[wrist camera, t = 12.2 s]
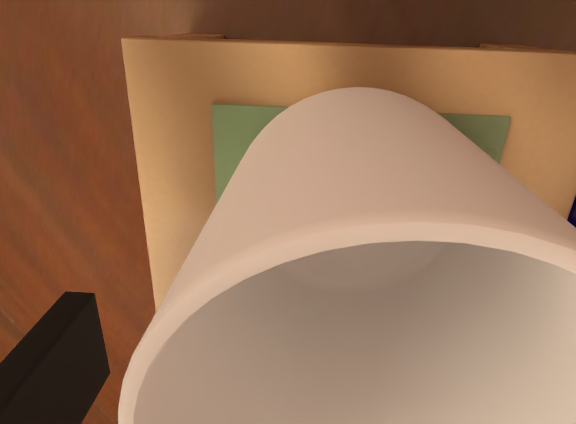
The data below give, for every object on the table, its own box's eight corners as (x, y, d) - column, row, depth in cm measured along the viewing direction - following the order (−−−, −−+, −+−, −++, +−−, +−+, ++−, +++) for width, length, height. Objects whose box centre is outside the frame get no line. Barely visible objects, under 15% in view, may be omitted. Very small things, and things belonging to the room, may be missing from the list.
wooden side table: (202, 272, 27) (159, 363, 20) (186, 30, 21) (117, 37, 14) (461, 289, 26) (512, 390, 19) (520, 42, 20) (629, 55, 13)
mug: (466, 354, 18) (620, 713, 9) (277, 367, 19) (235, 699, 10) (468, 61, 13) (817, 171, 4) (215, 102, 14) (18, 264, 5)
